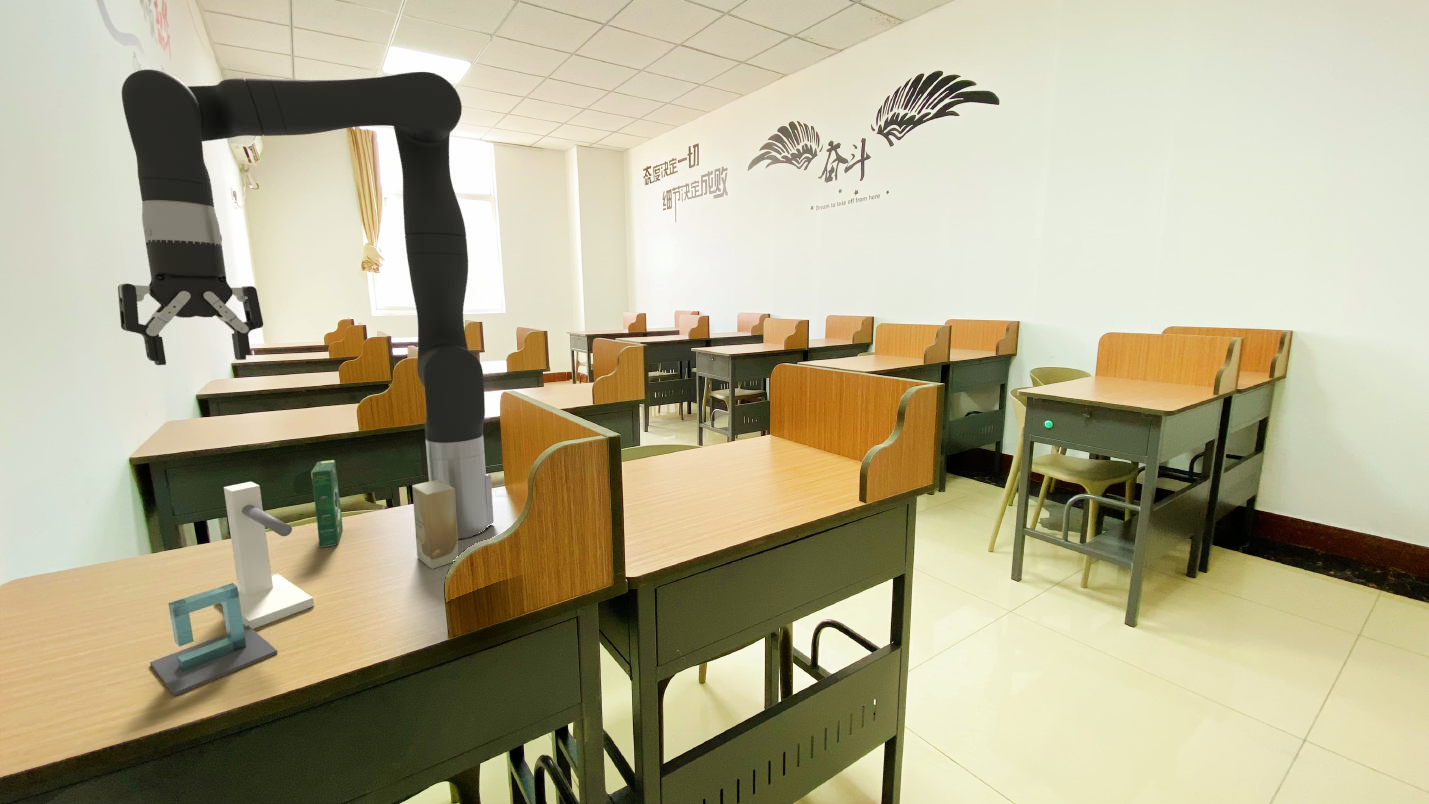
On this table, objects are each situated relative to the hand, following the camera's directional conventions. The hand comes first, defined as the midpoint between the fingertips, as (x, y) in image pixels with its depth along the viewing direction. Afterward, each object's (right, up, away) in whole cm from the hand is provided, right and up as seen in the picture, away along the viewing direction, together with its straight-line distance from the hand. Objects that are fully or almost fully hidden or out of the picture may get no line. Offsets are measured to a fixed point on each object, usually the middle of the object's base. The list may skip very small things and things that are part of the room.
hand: (202, 362), depth 79 cm
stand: (+12, -33, -2) cm, 35 cm away
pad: (+13, -35, -13) cm, 40 cm away
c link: (+13, -35, -13) cm, 39 cm away
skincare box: (+27, -31, +13) cm, 43 cm away
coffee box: (+4, -29, +20) cm, 36 cm away
